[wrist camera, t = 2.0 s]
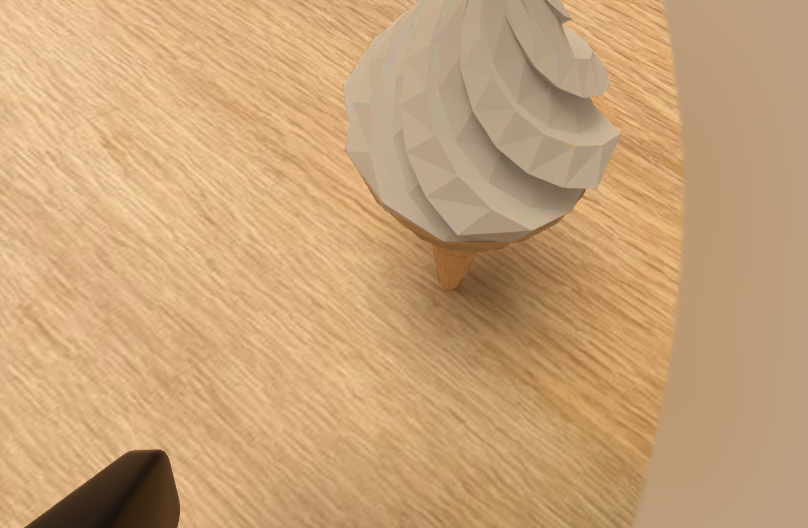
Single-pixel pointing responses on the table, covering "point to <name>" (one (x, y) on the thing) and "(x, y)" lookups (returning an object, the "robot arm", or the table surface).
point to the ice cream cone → (478, 123)
